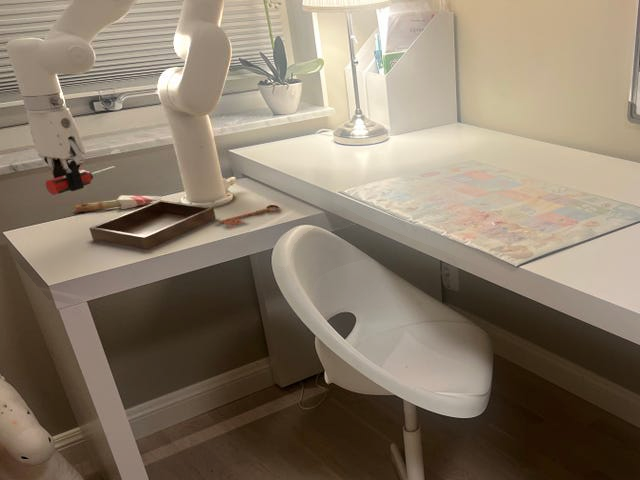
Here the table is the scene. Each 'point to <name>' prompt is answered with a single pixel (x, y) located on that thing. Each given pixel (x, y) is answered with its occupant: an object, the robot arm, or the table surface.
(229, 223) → the key
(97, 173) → the screwdriver
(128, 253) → the table surface
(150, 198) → the paintbrush
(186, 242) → the table surface
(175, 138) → the robot arm
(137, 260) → the table surface
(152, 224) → the wooden tray
